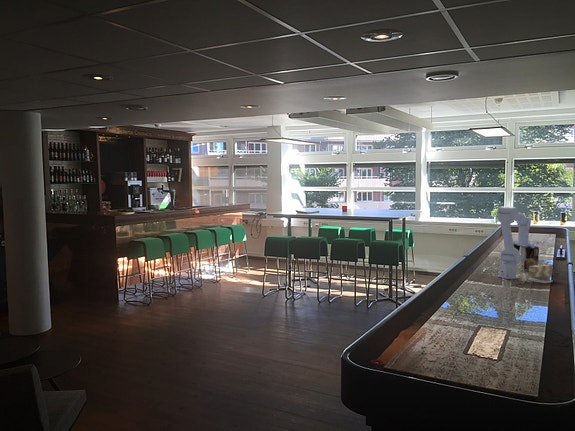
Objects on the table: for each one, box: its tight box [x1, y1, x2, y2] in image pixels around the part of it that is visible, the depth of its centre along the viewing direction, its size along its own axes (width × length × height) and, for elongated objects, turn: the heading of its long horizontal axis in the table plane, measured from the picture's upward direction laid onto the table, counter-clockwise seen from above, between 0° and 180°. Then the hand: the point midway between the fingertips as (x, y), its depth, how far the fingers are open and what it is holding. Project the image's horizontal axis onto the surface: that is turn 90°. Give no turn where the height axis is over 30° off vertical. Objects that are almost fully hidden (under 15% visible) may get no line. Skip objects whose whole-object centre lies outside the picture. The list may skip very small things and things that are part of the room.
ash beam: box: [528, 263, 553, 278], centre depth 267 cm, size 16×4×6 cm, turn 116°
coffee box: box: [519, 245, 540, 272], centre depth 299 cm, size 9×6×16 cm
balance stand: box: [527, 276, 553, 284], centre depth 267 cm, size 8×10×3 cm
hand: (522, 257), depth 286 cm, fingers open, 7 cm apart
